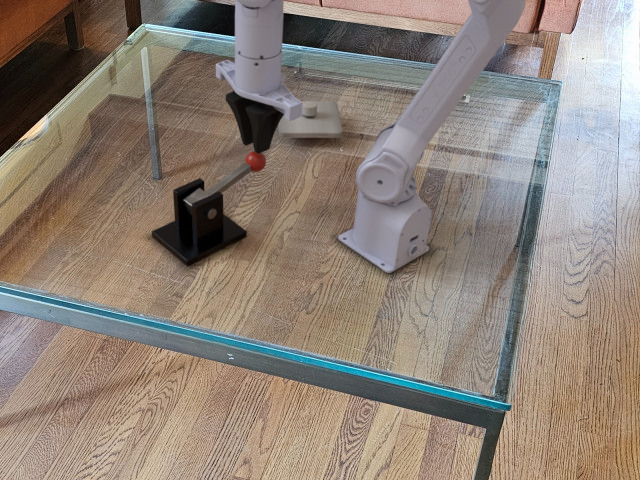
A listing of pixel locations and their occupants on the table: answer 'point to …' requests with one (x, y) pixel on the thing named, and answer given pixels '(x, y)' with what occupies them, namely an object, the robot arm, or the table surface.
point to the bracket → (198, 226)
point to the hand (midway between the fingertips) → (256, 146)
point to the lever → (228, 179)
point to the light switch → (313, 122)
